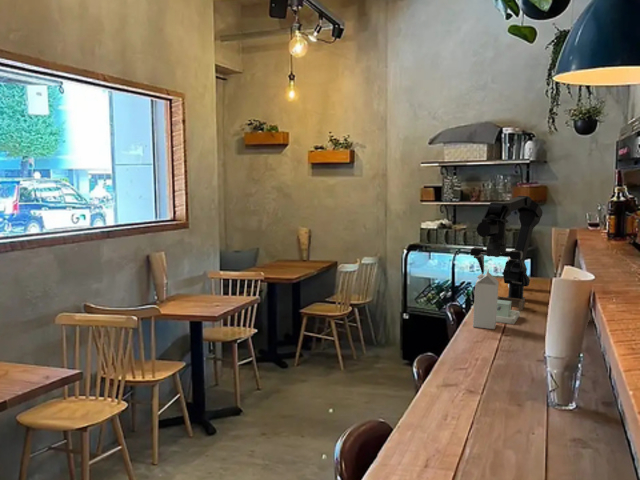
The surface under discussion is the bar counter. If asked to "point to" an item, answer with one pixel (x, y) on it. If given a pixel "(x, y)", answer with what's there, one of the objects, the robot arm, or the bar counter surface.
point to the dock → (514, 302)
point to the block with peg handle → (503, 308)
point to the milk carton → (485, 301)
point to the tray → (509, 318)
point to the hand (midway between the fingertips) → (495, 275)
